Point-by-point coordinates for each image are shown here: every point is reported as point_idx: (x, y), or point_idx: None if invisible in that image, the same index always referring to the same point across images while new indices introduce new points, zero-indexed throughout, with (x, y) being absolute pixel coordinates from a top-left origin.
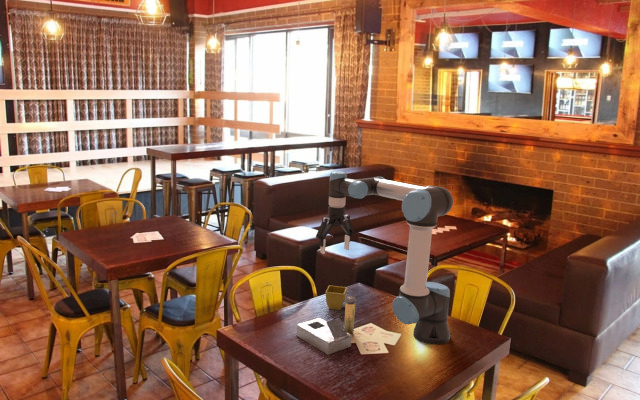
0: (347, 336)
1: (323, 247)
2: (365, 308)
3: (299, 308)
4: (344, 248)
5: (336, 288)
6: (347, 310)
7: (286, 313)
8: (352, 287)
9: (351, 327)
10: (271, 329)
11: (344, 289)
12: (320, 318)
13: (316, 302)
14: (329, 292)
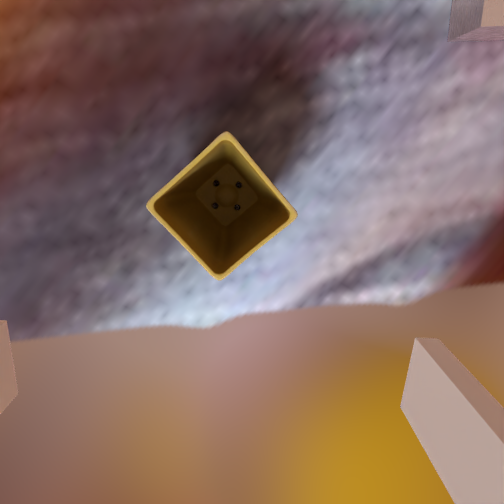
0: None
1: (494, 416)
2: (105, 107)
3: (363, 269)
4: (16, 390)
5: (193, 243)
6: None
7: (441, 255)
8: (17, 332)
9: None
10: None
11: (160, 209)
12: (484, 14)
13: (262, 282)
14: (284, 198)
